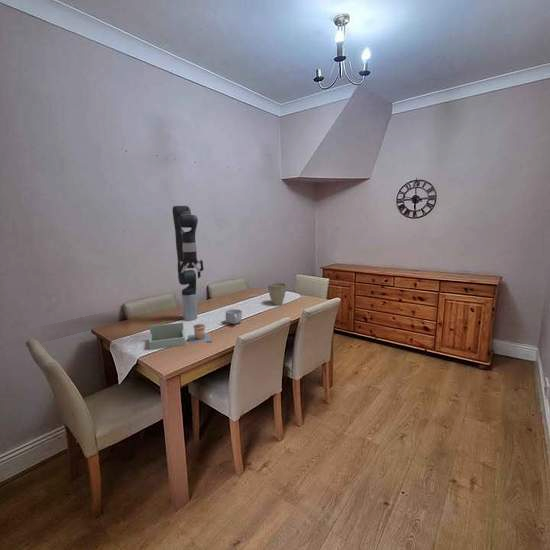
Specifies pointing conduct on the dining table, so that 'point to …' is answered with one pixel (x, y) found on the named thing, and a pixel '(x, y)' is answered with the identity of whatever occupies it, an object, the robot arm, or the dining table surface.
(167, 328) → the cold frame
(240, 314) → the teacup
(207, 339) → the slate tile
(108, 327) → the dining table surface
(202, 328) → the pot
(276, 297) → the plant pot
